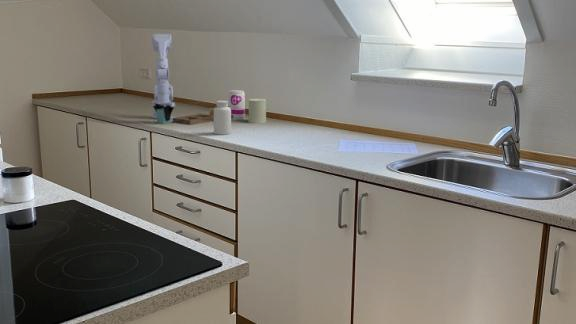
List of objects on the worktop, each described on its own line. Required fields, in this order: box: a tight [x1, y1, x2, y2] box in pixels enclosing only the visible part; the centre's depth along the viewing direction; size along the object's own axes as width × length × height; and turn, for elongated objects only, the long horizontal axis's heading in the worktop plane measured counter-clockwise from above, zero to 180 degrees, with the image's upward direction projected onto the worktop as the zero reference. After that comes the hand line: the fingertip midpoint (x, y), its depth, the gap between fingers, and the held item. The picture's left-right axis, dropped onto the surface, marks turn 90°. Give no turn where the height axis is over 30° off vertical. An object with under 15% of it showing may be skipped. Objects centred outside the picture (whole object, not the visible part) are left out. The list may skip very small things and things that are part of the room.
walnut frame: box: [172, 113, 214, 126], centre depth 316 cm, size 13×20×2 cm, turn 143°
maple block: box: [208, 107, 215, 116], centre depth 328 cm, size 5×5×7 cm
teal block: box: [156, 108, 172, 125], centre depth 308 cm, size 5×5×7 cm
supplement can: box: [228, 89, 246, 121], centre depth 323 cm, size 8×8×15 cm
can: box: [248, 98, 267, 124], centre depth 315 cm, size 9×9×12 cm
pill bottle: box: [213, 100, 232, 136], centre depth 280 cm, size 8×8×15 cm
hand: (164, 119), depth 309 cm, fingers closed on teal block, 5 cm apart
